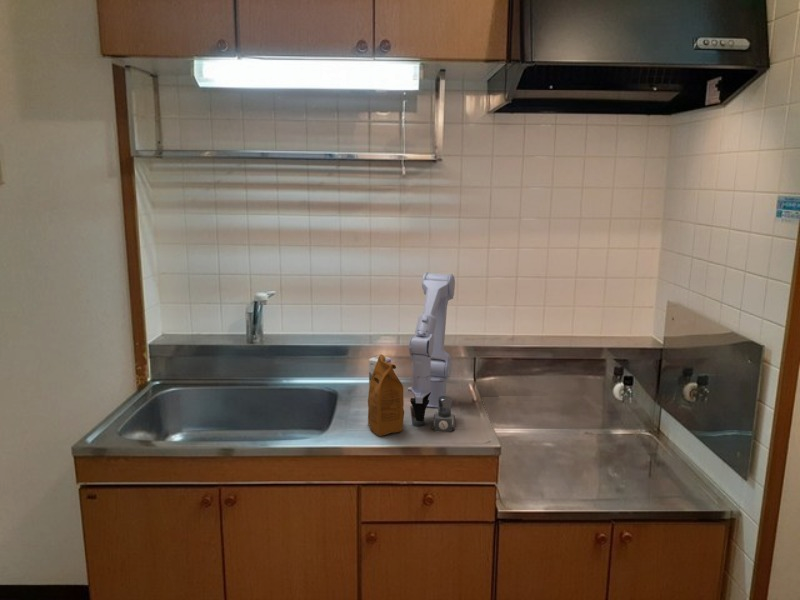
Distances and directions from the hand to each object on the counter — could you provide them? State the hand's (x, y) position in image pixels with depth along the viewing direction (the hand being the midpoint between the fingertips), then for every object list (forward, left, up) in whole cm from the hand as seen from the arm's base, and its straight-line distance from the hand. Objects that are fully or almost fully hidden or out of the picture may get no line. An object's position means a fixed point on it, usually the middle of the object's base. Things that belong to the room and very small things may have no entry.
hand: (420, 416), depth 181 cm
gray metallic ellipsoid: (-4, +7, -1) cm, 8 cm away
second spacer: (0, -1, -2) cm, 2 cm away
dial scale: (-1, +7, -2) cm, 8 cm away
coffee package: (+4, -10, -3) cm, 12 cm away
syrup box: (-19, -16, -3) cm, 25 cm away
